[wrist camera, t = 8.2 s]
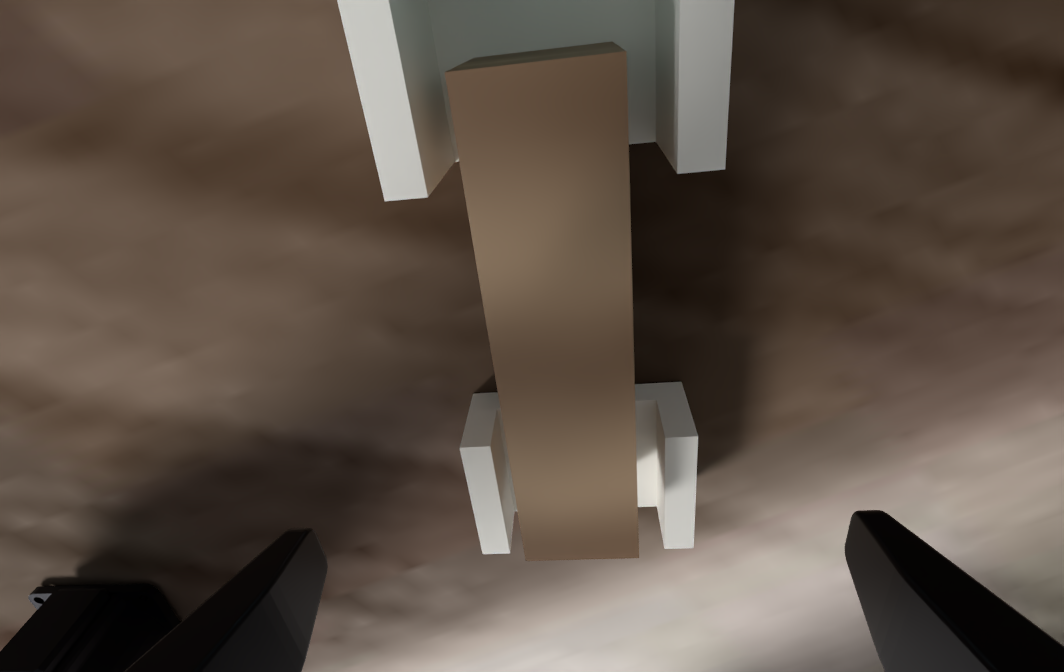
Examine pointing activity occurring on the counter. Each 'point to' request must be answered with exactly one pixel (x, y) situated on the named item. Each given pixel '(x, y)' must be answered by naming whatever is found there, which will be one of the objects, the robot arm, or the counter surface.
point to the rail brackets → (653, 116)
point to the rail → (556, 285)
